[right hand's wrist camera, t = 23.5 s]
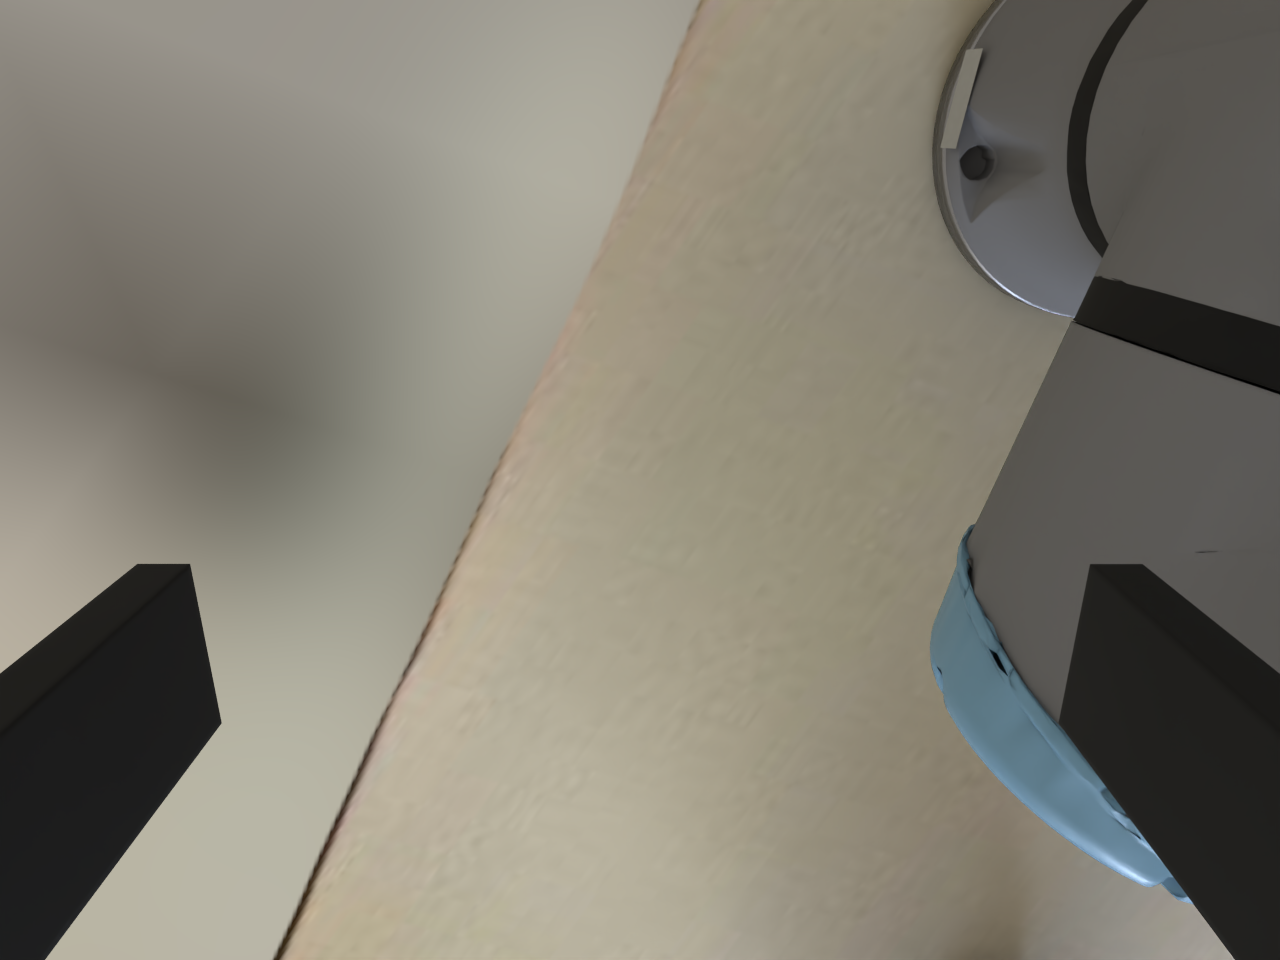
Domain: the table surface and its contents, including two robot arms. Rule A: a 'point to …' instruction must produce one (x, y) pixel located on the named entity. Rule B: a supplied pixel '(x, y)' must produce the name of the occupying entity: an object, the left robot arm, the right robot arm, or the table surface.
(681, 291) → the table surface
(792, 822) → the table surface
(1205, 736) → the right robot arm
